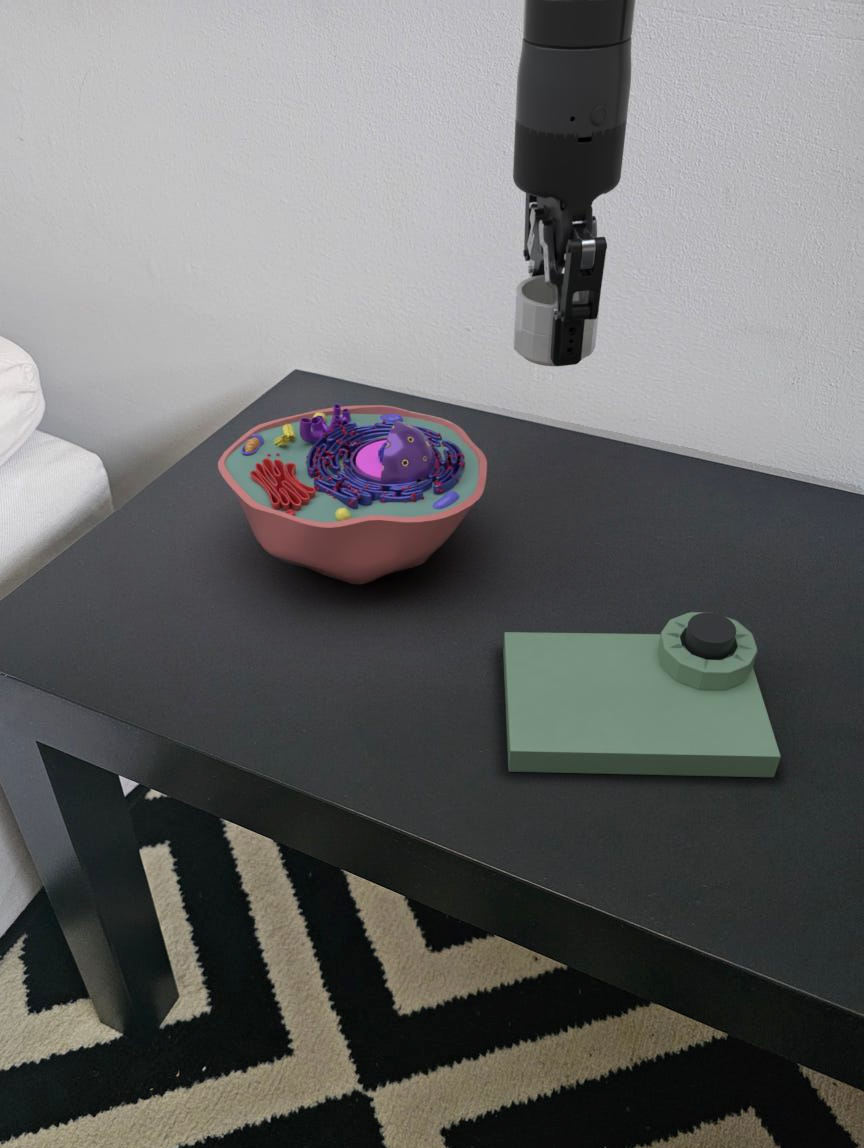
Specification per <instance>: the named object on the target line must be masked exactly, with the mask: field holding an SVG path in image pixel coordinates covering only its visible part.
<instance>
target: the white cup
mask: <svg viewBox="0 0 864 1148" xmlns="http://www.w3.org/2000/svg"><path fill="white" fill-rule="evenodd" d="M601 294H602V292H601V293H600V296H601ZM573 301H579V292H575V293H574V295H573ZM600 304H601V300H600V301H599V306H600ZM599 315H600V307H599V308H598V315H597V318H596V319H592V320H589V319H587V320H585V323H584V334H583V345H582V355H581V360H580V362H581V361H583V360H584V359H586V358H587V357H590V356H591V355H592V353H593V352H594V350H595V349H596V342H597V334H598V323H599ZM553 316H554V315H553V293H552V289H551V288H550V287H548V286H547V285H546V283H545V274H544V275H539V276H533V277H530V276H529V278H526V279H524V280H521V281H520V282H519V283H518V285H517V286H516V287H515V301H514V318H513V341H512V342H513V349H514V351H515V352H516V353H517V354H518V355H520V356H521V357H522V358H524V359H525V360H526V361H527V362H530V363H533V364H536V365H538V366H545V367H556V366H555V365H554V364H553V362H552V360H551V343H552V329H553ZM566 366H567V365H565V366H564V367H566Z"/></svg>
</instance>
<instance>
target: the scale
mask: <svg viewBox="0 0 864 1148" xmlns="http://www.w3.org/2000/svg"><path fill="white" fill-rule="evenodd" d="M700 613H710V612H698V611H697V612H694V611H690V612H687V613H684V614H681V615H679V616H676V617H673V618H671V619H669V620H668V622H667V623H666V625H665V626H664V627H663V629H662V630H661V632H660V633H600V632H599V633H598V632H596V633H595V632H594V633H593V632H592V633H591V632H529V631H528V632H527V631H526V632H524V631H522V632H520V631H512V632H511V631H505V632H504V634H503V651H502V654H503V655H502V656H503V675H504V676H503V679H504V698H505V699H504V700H505V723H506V724H505V725H506V743H507V765H508V767H507V768H508V772H509V773H511V772H512V773H514V772H515V773H550V774H553V773H554V774H557V773H558V774H600V775H602V774H603V775H642V776H643V775H644V776H645V775H648V776H685V777H687V776H688V777H689V776H690V777H691V776H694V777H730V778H731V777H733V778H734V777H738V778H775V776H776V773H777V770H778V766H779V763H780V761H781V758H782V757H781V756H782V755H781V753H780V750H779V746H778V743H777V739H776V737H775V734H774V733H775V732H774V730H773V726H772V724H771V720H770V718H769V714H768V711H767V708H766V707H767V706H766V705H765V701H764V699H763V694H762V691H761V688H760V685H759V682H758V679H757V675H756V672H755V669H754V665H755V662H756V658H757V655H758V647H757V644H756V641H755V638H754V635H753V632H751V631H749V630H748V629H747V628H746V627H745V626H744V625H742V624H741V623H740V622H739V621H738V620H736V619H734V618H731V617H727V616H725V617H726V618H728V619H729V620H731V621H732V622H733V624H734V625H735V627H736V635H735V639H734V643H733V647H732V651H731V653H730V654H729V655H728V656H727V657H726V658H724V659H721V660H706V659H703V658H700V657H697V656H695V655H692V654H691V653H690V652H689V651H688V650H687V649H686V647H685V644H684V640H685V635H686V630H687V626H688V622H689V620H690V619H691V618H692V617H693V616H694V615H697V614H700Z"/></svg>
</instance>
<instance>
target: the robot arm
mask: <svg viewBox="0 0 864 1148" xmlns="http://www.w3.org/2000/svg"><path fill="white" fill-rule="evenodd" d="M635 8H636V0H524V2H523V25H522V26H523V27H522V43H521V50H520V51H521V52H520V57H519V63H518V68H517V77H516V78H517V79H516V96H515V97H516V98H515V118H514V120H515V121H514V122H515V123H514V145H513V168H512V169H513V170H512V180H513V183H514V184H515V186H516V187H517V188H518V189H519V190H520V191H521V192H523V193H525V207H524V209H525V210H524V244H523V245H524V247H523V251H522V253H523V257H524V261H525V262H529V263H528V267H527V273H528V275H529V278H530V277H533V276H539V275H544V274H545V283H546V285H547V286H548V287H550V288H551V289H552V293H553V315H554V316H553V329H552V343H551V360H552V362H553V364H554V365H555V366H554V367H566V366H573V365H574V366H575V365H578V364H579V363H580V362H581V361H582V360H581V355H582V345H583V334H584V323H585V320H587V319H589V320H592V319H596V318H597V315H598V308H599V309H600V305H599V301H600V302H601V295H600V293H601V294H602V286H603V279H604V270H605V263H606V255H607V249H608V242H607V239H606V237H605V236H598V224H597V223H598V222H597V217H596V215H593V210H594V209H593V206H592V205H593V204H594V201H595V200H596V199H597V198H599V197H600V196H602V195H605V194H608V193H610V192H612V191H613V190H614V189H616V187H617V186H618V185H619V183H620V182H621V178H622V177H621V176H622V169H623V160H624V159H623V158H624V151H625V150H624V149H625V139H626V131H627V130H626V129H627V121H628V114H629V113H628V112H629V104H630V94H631V93H630V92H631V83H632V35H633V28H634V19H635ZM575 292H579V301H573V295H574V293H575ZM598 316H599V315H598ZM580 360H581V361H580ZM565 365H566V366H565Z"/></svg>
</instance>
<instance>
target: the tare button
mask: <svg viewBox="0 0 864 1148" xmlns="http://www.w3.org/2000/svg"><path fill="white" fill-rule="evenodd" d="M726 617H727V616H725V615H723V614H719V613H715V612H709V613H700V614H697V615H694V616H693V617H692V618H691V619H690V620H689V622H688V626H687V630H686V635H685V640H684V644H685V647H686V649H687V650H688V651H689V652H690V653H691V654H692V655H695V656H697V657H700V658H703V659H706V660H721V659H724V658H726V657H727V656H728V655H729V654H730V653H731V651H732V647H733V643H734V639H735V635H736V627H735V625H734V624H733V622H732V621H731V620H729V619H728V618H729V617H727V618H726Z"/></svg>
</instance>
